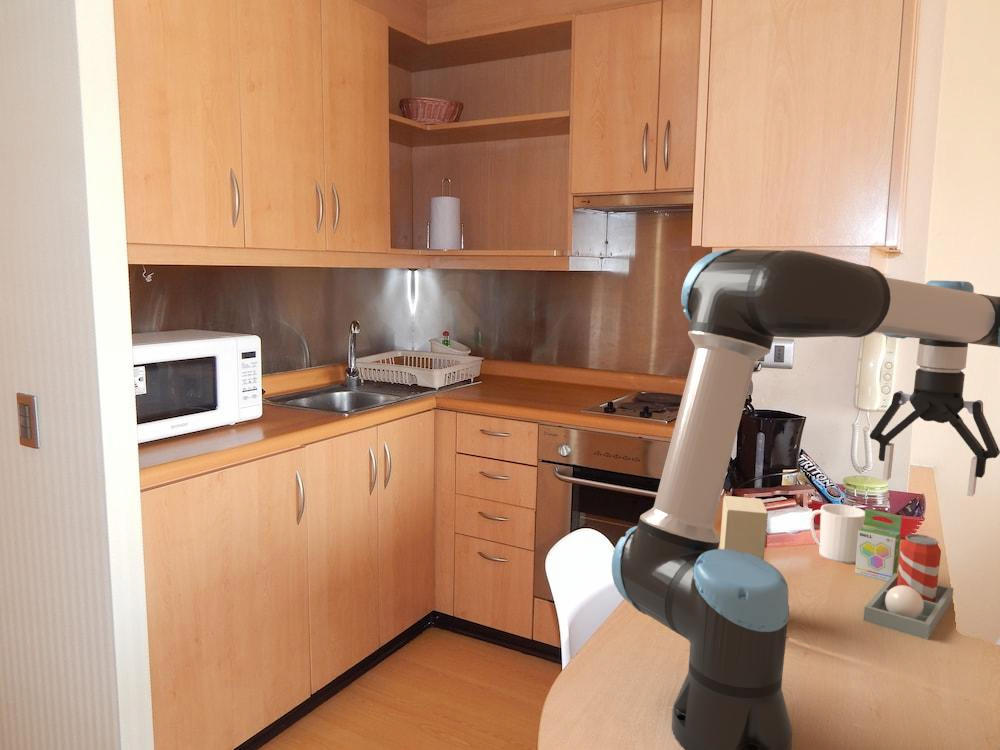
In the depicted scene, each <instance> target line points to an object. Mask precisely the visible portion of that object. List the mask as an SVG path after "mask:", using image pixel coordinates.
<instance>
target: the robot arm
mask: <svg viewBox="0 0 1000 750" xmlns="http://www.w3.org/2000/svg"><path fill="white" fill-rule="evenodd" d="M680 300H681V301H680V302H681V306H682V307H683V313H684V316H685V317H686V319H687V320H688V321H689V322H690V324H689V328H688V332H687V335H688V337H689V339H690V340H691V342H692V343H693V345H694V351H693V355H692V359H691V363H690V366H689V370H688V374H687V378H686V382H685V386H684V390H683V393H682V397H681V401H680V405H679V408H678V413H677V416H676V420H675V423H674V428H673V431H672V436H671V440H670V442H669V448H668V451H667V455H666V458H665V462H664V466H663V470H662V475H661V478H660V482H659V486H658V489H657V493H656V496H655V499H654V500H655V501H654V504H653V507H652V508H651V509H648V510H647V511H645V512H644V513H642V514H641V515H640V517H639V520H638V524H637V525H635V526H632V527H630V528H628V530H627V531H625V536H621V537H620V539H619V540H618V541H617V544H616V545H615V547H614V549H613V554H612V558H611V559H612V560H611V576H612V580H613V583H614V585H615V587H616V590H617V591H618V592H619V594H620V596H621V597H622V598H623V599H624V600H625V601H627V602H628V603H630V605H632V606H633V608H635V609H636V610H637V611H638V612H640V613H642V614H644V615H646V616H648V617H650V618H652V619H653V620H655V621H657V622H659V624H662V625H664V626H665V627H667V628H668V629H670V630H672V631H673V632H675V633H676V634H678V635H680V636H681V637H682V638H685V639H686V641H687V640H688V642H689V644H690V645H689V658H688V672H687V674H686V676H685V679H684V681H683V683H682V685H681V688H680V689H679V693H678V694H677V696H676V699H675V701H674V704H673V706H672V710H671V711H672V712H671V731H672V733H673V735H674V738H675V739H676V740H677V742H678V743H679V745H681V747H683V748H684V749H685V750H792V744H793V743H792V742H793V727H792V723H791V720H790V717H789V715H790V714H789V711H788V708H787V705H786V700H785V698H784V692H783V688H782V685H783V684H782V683H783V675H784V663H785V654H786V644H787V643H786V642H787V632H788V623H789V619H790V605H789V587H788V582H787V581H786V579H785V577H784V575H783V574H782V573H781V571H780V570H778V569H777V568H776V566H774V565H773V564H772V563H770V562H768V561H766V560H765V559H764V560H763V559H761V558H759V557H757V556H754V555H751V554H748V553H744V554H742V553H739V552H738V551H736V550H728V549H720V540H721V539H720V535H719V534H718V531H717V529H716V528H715V525H714V521H715V518H716V514H717V511H718V507H719V504H720V503H719V502H720V500H721V499H720V498H721V495H722V491H723V488H724V483H725V480H726V476H727V473H728V468H729V464H730V462H731V457H732V453H733V448H734V446H735V442H736V438H737V435H738V434H737V433H738V431H739V426H740V424H741V423H740V422H741V419H742V414H743V411H744V407H745V403H746V399H747V396H748V392H749V389H750V384H751V381H752V377H753V374H754V370H755V365H756V362H758V361H759V360H760V359H762V358H764V357H765V356H767V355H768V354H770V352H771V351H772V346H773V342H774V339H775V337H776V338H788V339H789V338H790V339H791V338H796V339H798V338H799V339H800V338H802V339H803V338H806V339H807V338H828V337H829V338H830V337H844V338H863V337H866V336H868V335H871V334H873V333H877V334H883V335H884V336H886V337H888V338H896V339H902V340H903V339H906V338H913V339H919V340H918V347H917V354H916V355H917V357H916V366H918V367H919V368H917V370H915V377H914V385H913V386H914V387H913V392H912V394H909V393H905V392H903V391H902V390H898V391H896V392H895V393H893V395H892V400H891V403H890V405H889V406H888V407H887V409H886V411H885V412H884V414H883V415H882V417H881V418H880V420H879V421H878V422H877V424H876V425H875V427H874V428H873V430H872V431H871V432H870V434H869V438H870V439H871V440H875V441H876V442H878V443H879V450H878V459H879V461H880V462H883V472H882V481H886V482H887V481H889V480H890V479H892V468H893V460H894V448H895V443H892V442H890V441H892V440H893V439H894V438H895V437H896V436H898V435H899V434H901V432H903V431H904V430H905V429H906V428H908V427H909V426H910V425H911V424H912V423H914V422H915V421H916V420H917V419H919V418H920V419H922V420H923V421H924V422H936V423H937V424H939V423H940V424H946V423H948V422H949V424H950V426H952V428H954V430H956V433H958V435H959V436H960V437H961V439H962V440H963V441H964V442H965V444H966V445H967V447H969V449H970V451H972V453H973V455H974V456H973V457H972V458H971V461H970V469H969V479H968V487H967V494H966V495H967V496H968V497H973V496H974V495H975V494H976V490H977V489H976V487H977V478H983V477H984V476H985V474H986V465H987V460H988V459H996V458H998V456H999V455H1000V448H999V446H998V444H997V442H996V438H995V437H994V435H993V433H992V430H991V428H990V426H989V423H988V421H987V419H986V416H985V414H984V403H983V401H982V400H980V399H978V400H973V401H972V400H971V401H970V400H964V396H963V395H964V394H963V393H964V387H965V376H966V375H965V373H964V371H962V370H964V369H965V368H966V366H967V357H968V348H969V344H970V345H980V346H988V347H997V348H1000V296H997V295H989V294H983V293H976V292H975V291H974V285H973V284H972V283H971V282H970V281H965V280H962V281H961V280H960V281H959V280H936V279H935V280H928V281H927V282H926V283H920V282H915V281H908V280H904V279H903V280H902V279H899V278H898V279H896V278H891V277H886V276H885V274H884V273H882V272H881V271H880V270H878V269H877V268H875V267H873V266H869V265H864V264H859V263H854V262H853V261H852V262H850V261H847V260H843V259H839V258H836V257H831V256H827V255H823V254H819V253H815V252H810V251H805V250H795V249H785V250H776V249H775V250H773V249H772V250H771V249H770V250H769V249H767V250H766V249H741V248H733V249H728V250H720V251H719V250H718V251H717V250H716V251H713V252H711V253H708V254H706V255H705V256H704V257H702V258H700V259H699V260H697V262H695V263H694V265H692V267H691V268H690V270H689V271H688V273H687V274H686V276H685V279H684V281H683V284H682V289H681V299H680ZM907 402H909V403H910V404H911V406H912V407H913V411H912V412H911V413H910V414H909V415H907V416H906V417H905V418H904V419H903V420H901V421H900V422H899V423H898V424H896V425H895V426H894V427H893V428H892V429H890V430H889V431H888V432H887V433H886V434H883V432H884V431H885V429H886V428H887V426H888V425H889V424H890V422H891V421H892V419H893V418H894V416H895V415H896V413H897V412H898V411H899V409H900V408H901V406H904V405H905V404H906V403H907ZM964 408H965V409H966V410H967V412H968V413H969V414H970V415H972V417H973V418H972V419H973V420H974V422H975V425H976V427H977V429H978V431H979V434H980V436H981V439H982V441H983V443H984V445H985V448H986V450H985V448H984V447H983V445H982V444H981V443H980V442H979V440H978V439H977V438H976V436H975V435H974V434H973V433H972V432H971V430H970V428H968V426H967V424H965V422H964V419H962V417H961V416H960V415H959V413H960V412H961V411H962V410H963V409H964Z"/></svg>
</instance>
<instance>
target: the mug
mask: <svg viewBox="0 0 1000 750" xmlns="http://www.w3.org/2000/svg"><path fill="white" fill-rule="evenodd" d="M819 514H820V515H819ZM817 515H819V517H820V519H819V539H818V537H817V535H816V531H815V522H814V519H815V516H817ZM864 519H865V510H864V509H861V508H859V507H857V506H853V505H848V504H843V503H826V504H822V505H821V506H820V509H815V510H813V511H811V513H810V515H809V525H810V527H809V529H810V532H811V535H812V537H813V540H814V542H815V543H816V544H817V545H818V550H819V551H818V554H819V556H820V557H821V558H823V559H826V560H828V561H833V562H837V563H841V564H845V565H850V564H851V565H852V564H853V565H854V564H856V553H857V541H858V531H859V530H860V529H861V528H862V527H863V525H864Z"/></svg>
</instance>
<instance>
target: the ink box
mask: <svg viewBox="0 0 1000 750" xmlns="http://www.w3.org/2000/svg"><path fill="white" fill-rule="evenodd" d="M864 511H865V519H864V525H863V527H862V528H861V529H860V530H859V531H858V541H857V553H856V563H855V569H854V574H856V575H859V576H864V577H865V578H866V577H867V578H870V579H874V580H878V581H881V582H885V583H886V582H887V581H888V580H889V579H890V578H891V577H892V575H893V574H894V573H896V574H898V569H899V559H900V548H901V535H902V534H901V528H902V527H901V526H902V520H903V515H899V514H898V515H897V514H893V513H889V512H885V511H880V510H874V509H871V508H865V510H864ZM873 517H883V518H886V519H888V520H890V521H892V523H890V522H889V523H888V522H885V521H881V520H876V519H874V518H873Z"/></svg>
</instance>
